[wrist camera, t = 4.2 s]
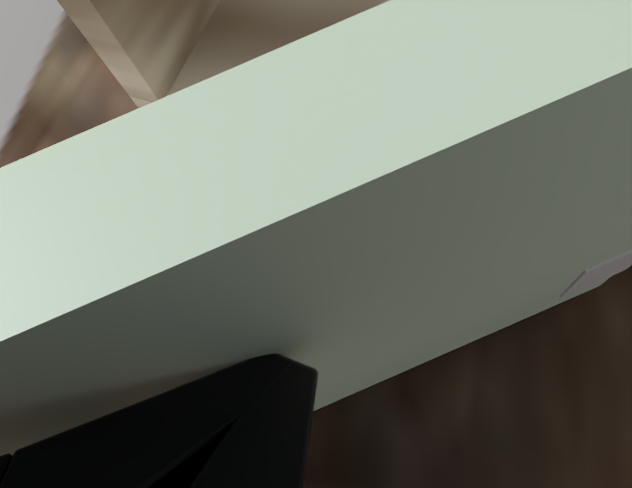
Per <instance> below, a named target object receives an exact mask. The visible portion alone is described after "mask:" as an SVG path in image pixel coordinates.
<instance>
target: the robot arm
mask: <svg viewBox="0 0 632 488" xmlns="http://www.w3.org/2000/svg"><path fill="white" fill-rule="evenodd" d="M317 381H318V371H317V370H316V369H315V368H313V367H310V366H308V365H305V364H303V363H300V362H298V361H294V360H293V359H290V358H288V357H285V356H283V355H280V354H277V353H274V354H268V355H262V356H258V357H254V358H250V359H248V360H245V361H243V362H240V363H237V364H235V365H232V366H230V367H227V368H225V369H222V370H220V371H217V372H214V373H212V374H209V375H207V376H204V377H202V378H199V379H197V380H194V381H191V382H189V383H186V384H184V385H181V386H179V387H176V388H174V389H171V390H168V391H166V392H163V393H161V394H158V395H156V396H153V397H150V398H148V399H145V400H143V401H140V402H138V403H135V404H133V405H130V406H127V407H125V408H122V409H120V410H117V411H115V412H112V413H110V414H107V415H104V416H102V417H99V418H97V419H94V420H92V421H89V422H87V423H84V424H81V425H79V426H76V427H74V428H71V429H69V430H66V431H64V432H61V433H58V434H56V435H53V436H51V437H48V438H46V439H43V440H41V441H38V442H35V443H33V444H30V445H28V446H25V447H23V448H20V449H18V450H16V451H15V452H14V454H13V456H12V455H11V454H10V453H7V454H4V455H1V456H0V488H303V485H304V478H305V470H306V463H307V455H308V448H309V441H310V433H311V426H312V418H313V411H314V403H315V396H316V389H317Z"/></svg>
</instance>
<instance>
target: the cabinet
mask: <svg viewBox="0 0 632 488" xmlns="http://www.w3.org/2000/svg"><path fill="white" fill-rule="evenodd" d="M57 1H58V2H59V3H60V5H61V6H62V7H63V9H64V10H65V11H66V13H67V14H68V15H69V17H70V18H71V19H72V21H73V22H74V23H75V25H76V26H77V27H78V29H79V30H80V31H81V32H82V34H83V35H84V36H85V38H86V39H87V40H88V42H89V43H90V44H91V46H92V47H93V48H94V50H95V51H96V52H97V54H98V55H99V56H100V58H101V59H102V60H103V62H104V63H105V64H106V66H107V67H108V68H109V69H110V71H111V72H112V73H113V75H114V76H115V77H116V79H117V80H118V81H119V83H120V84H121V85H122V87H123V88H124V89H125V91H126V92H127V93H128V95H129V96H130V97H131V99H132V100H133V101H134V103H135V104H136V105H137V107H138V108H141V107H143V106H145V105H148V104H150V103H152V102H155V101H157V100H159V99H162V98H164V97H166V96H169V95H171V94H173V93H176V92H178V91H180V90H183V89H185V88H187V87H190V86H192V85H194V84H197V83H199V82H201V81H204V80H206V79H208V78H210V77H213V76H215V75H217V74H220V73H222V72H224V71H227V70H229V69H231V68H234V67H236V66H238V65H241V64H243V63H245V62H248V61H250V60H252V59H255V58H257V57H259V56H262V55H264V54H266V53H269V52H271V51H273V50H275V49H278V48H280V47H282V46H285V45H287V44H289V43H292V42H294V41H296V40H299V39H301V38H303V37H306V36H308V35H310V34H313V33H315V32H317V31H320V30H322V29H324V28H327V27H329V26H331V25H334V24H336V23H338V22H340V21H343V20H345V19H347V18H350V17H352V16H354V15H357V14H359V13H361V12H364V11H366V10H368V9H371V8H373V7H375V6H378V5H380V4H382V3H385V2H387V1H389V0H57Z"/></svg>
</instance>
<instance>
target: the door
mask: <svg viewBox="0 0 632 488" xmlns="http://www.w3.org/2000/svg"><path fill="white" fill-rule="evenodd" d="M631 265H632V0H389V1H387V2H385V3H382V4H380V5H378V6H375V7H373V8H371V9H368V10H366V11H364V12H361V13H359V14H357V15H354V16H352V17H350V18H347V19H345V20H343V21H340V22H338V23H336V24H334V25H331V26H329V27H327V28H324V29H322V30H320V31H317V32H315V33H313V34H310V35H308V36H306V37H303V38H301V39H299V40H296V41H294V42H292V43H289V44H287V45H285V46H282V47H280V48H278V49H275V50H273V51H271V52H269V53H266V54H264V55H262V56H259V57H257V58H255V59H252V60H250V61H248V62H245V63H243V64H241V65H238V66H236V67H234V68H231V69H229V70H227V71H224V72H222V73H220V74H217V75H215V76H213V77H210V78H208V79H206V80H204V81H201V82H199V83H197V84H194V85H192V86H190V87H187V88H185V89H183V90H180V91H178V92H176V93H173V94H171V95H169V96H166V97H164V98H162V99H159V100H157V101H155V102H152V103H150V104H148V105H145V106H143V107H141V108H139V109H136V110H134V111H132V112H129V113H127V114H125V115H122V116H120V117H118V118H115V119H113V120H111V121H108V122H106V123H104V124H101V125H99V126H97V127H94V128H92V129H90V130H87V131H85V132H83V133H80V134H78V135H76V136H73V137H71V138H69V139H67V140H64V141H62V142H60V143H57V144H55V145H53V146H50V147H48V148H46V149H43V150H41V151H39V152H36V153H34V154H32V155H29V156H27V157H25V158H22V159H20V160H18V161H15V162H13V163H11V164H8V165H6V166H4V167H2V168H0V456H1V455H4V454H7V453H10V454H11V455H12V456H13V454H14V452H15V451H16V450H18V449H20V448H23V447H25V446H28V445H30V444H33V443H35V442H38V441H41V440H43V439H46V438H48V437H51V436H53V435H56V434H58V433H61V432H64V431H66V430H69V429H71V428H74V427H76V426H79V425H81V424H84V423H87V422H89V421H92V420H94V419H97V418H99V417H102V416H104V415H107V414H110V413H112V412H115V411H117V410H120V409H122V408H125V407H127V406H130V405H133V404H135V403H138V402H140V401H143V400H145V399H148V398H150V397H153V396H156V395H158V394H161V393H163V392H166V391H168V390H171V389H174V388H176V387H179V386H181V385H184V384H186V383H189V382H191V381H194V380H197V379H199V378H202V377H204V376H207V375H209V374H212V373H214V372H217V371H220V370H222V369H225V368H227V367H230V366H232V365H235V364H237V363H240V362H243V361H245V360H248V359H250V358H254V357H258V356H262V355H268V354H274V353H277V354H280V355H283V356H285V357H288V358H290V359H293V360H294V361H298V362H300V363H303V364H305V365H308V366H310V367H313V368H315V369H316V370H317V371H318V381H317V389H316V396H315V403H314V411H315V410H317V409H320V408H322V407H324V406H326V405H329V404H331V403H333V402H336V401H338V400H340V399H342V398H345V397H347V396H349V395H352V394H354V393H356V392H358V391H361V390H363V389H365V388H368V387H370V386H372V385H374V384H377V383H379V382H381V381H384V380H386V379H388V378H390V377H393V376H395V375H397V374H400V373H402V372H404V371H406V370H409V369H411V368H413V367H416V366H418V365H420V364H422V363H425V362H427V361H429V360H432V359H434V358H436V357H438V356H441V355H443V354H445V353H448V352H450V351H452V350H454V349H457V348H459V347H461V346H464V345H466V344H468V343H470V342H473V341H475V340H477V339H480V338H482V337H484V336H486V335H489V334H491V333H493V332H496V331H498V330H500V329H502V328H505V327H507V326H509V325H512V324H514V323H516V322H518V321H521V320H523V319H525V318H528V317H530V316H532V315H534V314H537V313H539V312H541V311H544V310H546V309H548V308H550V307H553V306H555V305H557V304H560V303H562V302H564V301H566V300H569V299H571V298H573V297H576V296H578V295H580V294H582V293H585V292H587V291H589V290H592V289H594V288H596V287H598V286H601V285H602V284H603V283H604V282H605V281H606V280H607V279H609V278H610V277H611V276H613V275H615V274H617V273H619V272H622V271H624V270H626V269H627V268H629V267H630V266H631Z"/></svg>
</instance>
